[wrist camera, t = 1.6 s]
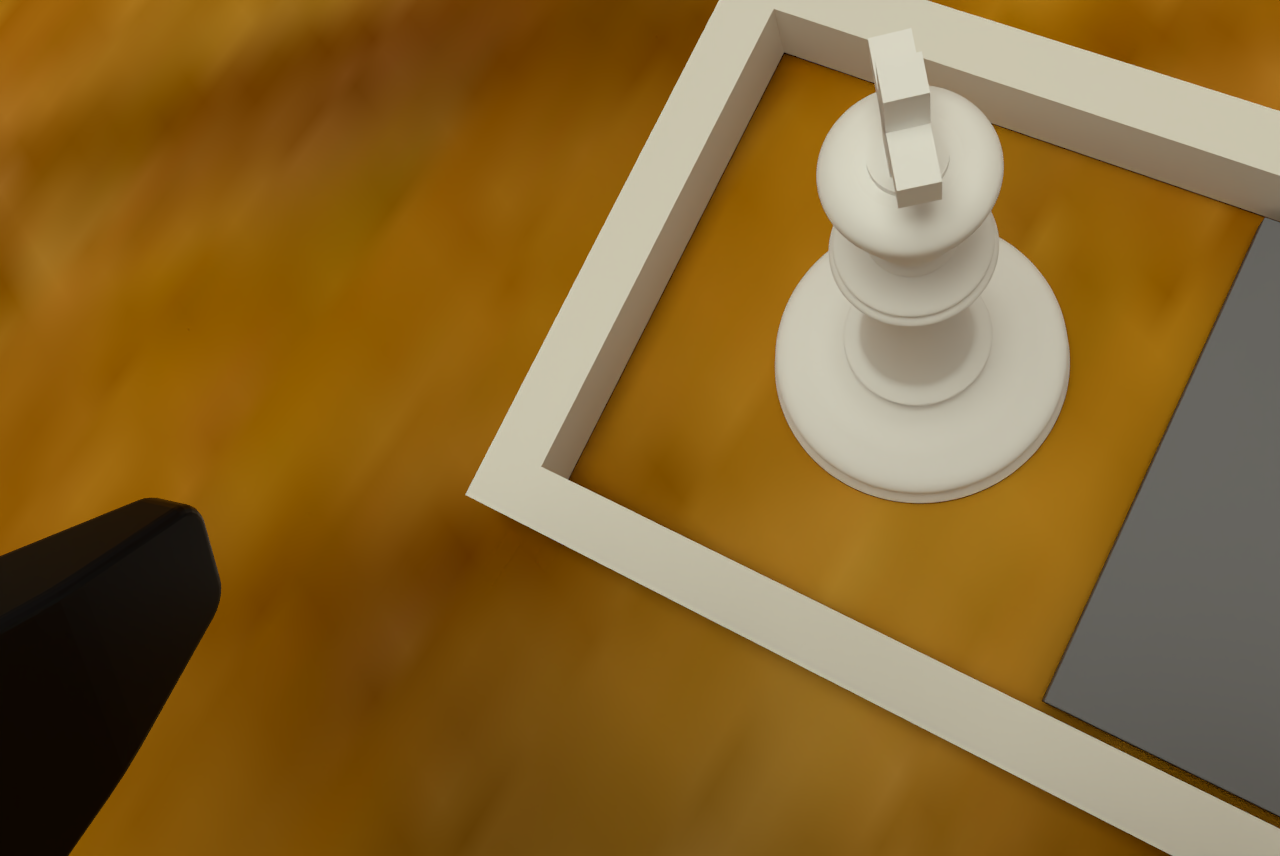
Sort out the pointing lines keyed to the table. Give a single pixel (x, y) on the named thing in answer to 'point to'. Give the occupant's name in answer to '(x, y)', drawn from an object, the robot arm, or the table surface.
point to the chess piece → (918, 303)
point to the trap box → (1157, 520)
